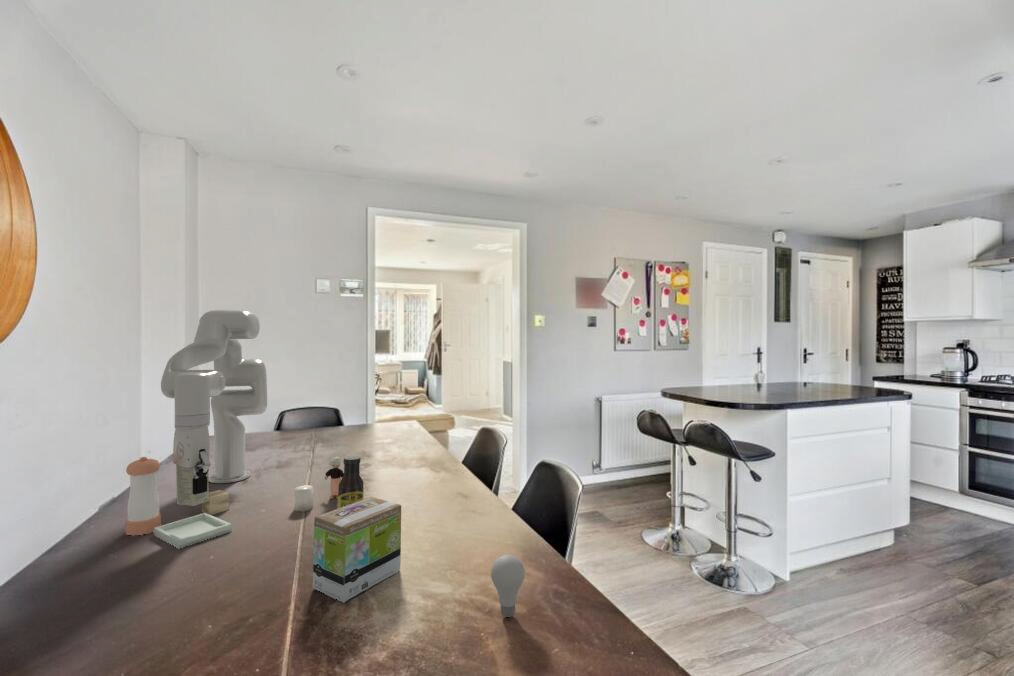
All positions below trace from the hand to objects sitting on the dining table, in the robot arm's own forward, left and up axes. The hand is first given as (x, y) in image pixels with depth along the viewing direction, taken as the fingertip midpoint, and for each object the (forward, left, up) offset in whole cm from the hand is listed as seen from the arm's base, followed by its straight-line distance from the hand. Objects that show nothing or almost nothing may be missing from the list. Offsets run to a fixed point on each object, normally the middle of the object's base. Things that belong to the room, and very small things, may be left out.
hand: (192, 489), depth 119 cm
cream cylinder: (+8, +26, -11) cm, 30 cm away
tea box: (+54, +8, -12) cm, 56 cm away
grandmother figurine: (+8, +37, -12) cm, 40 cm away
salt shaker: (-13, -6, -12) cm, 18 cm away
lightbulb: (+87, +14, -12) cm, 89 cm away
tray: (0, 0, -11) cm, 11 cm away
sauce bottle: (+35, +21, -12) cm, 42 cm away
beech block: (-12, +11, -11) cm, 20 cm away
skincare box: (0, 0, -4) cm, 4 cm away
